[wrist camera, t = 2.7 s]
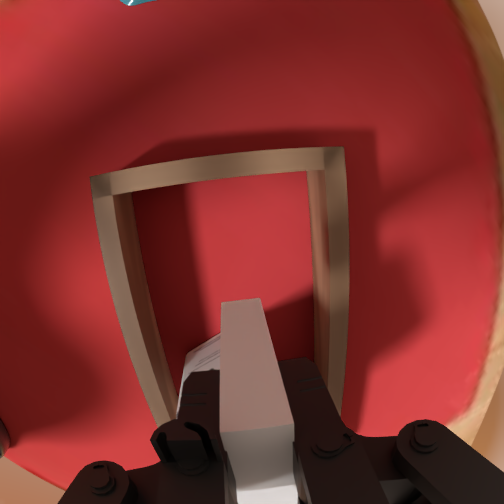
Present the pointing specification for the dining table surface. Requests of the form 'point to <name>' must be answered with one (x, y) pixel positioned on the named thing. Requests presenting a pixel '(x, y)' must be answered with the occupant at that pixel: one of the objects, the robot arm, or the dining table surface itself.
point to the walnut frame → (209, 168)
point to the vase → (134, 2)
